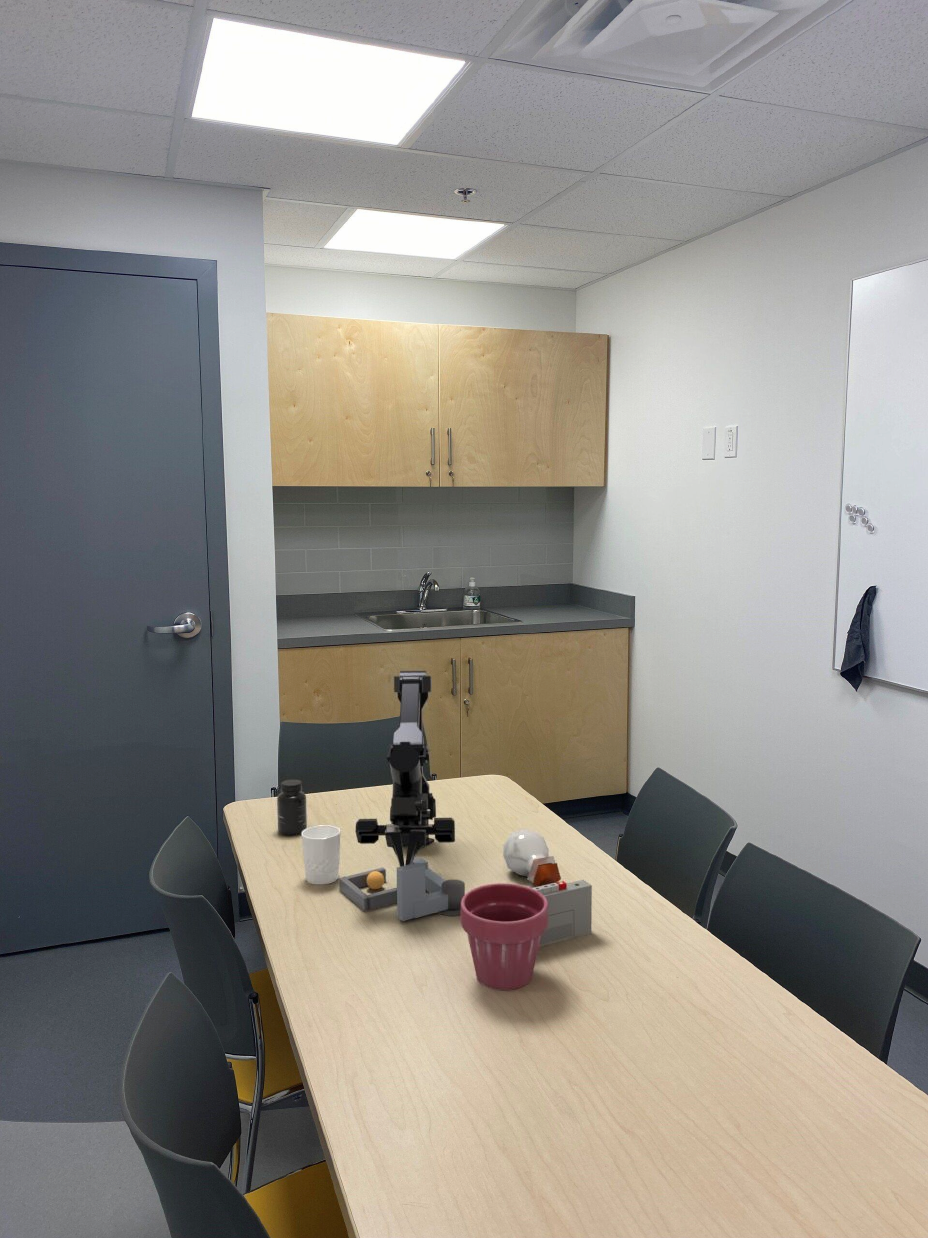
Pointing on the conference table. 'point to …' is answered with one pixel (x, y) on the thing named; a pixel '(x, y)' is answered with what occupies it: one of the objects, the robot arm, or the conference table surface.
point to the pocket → (365, 902)
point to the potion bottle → (530, 857)
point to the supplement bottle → (291, 808)
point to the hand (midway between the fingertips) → (404, 873)
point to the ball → (375, 880)
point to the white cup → (321, 854)
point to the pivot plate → (451, 912)
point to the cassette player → (567, 910)
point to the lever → (413, 891)
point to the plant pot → (504, 932)
